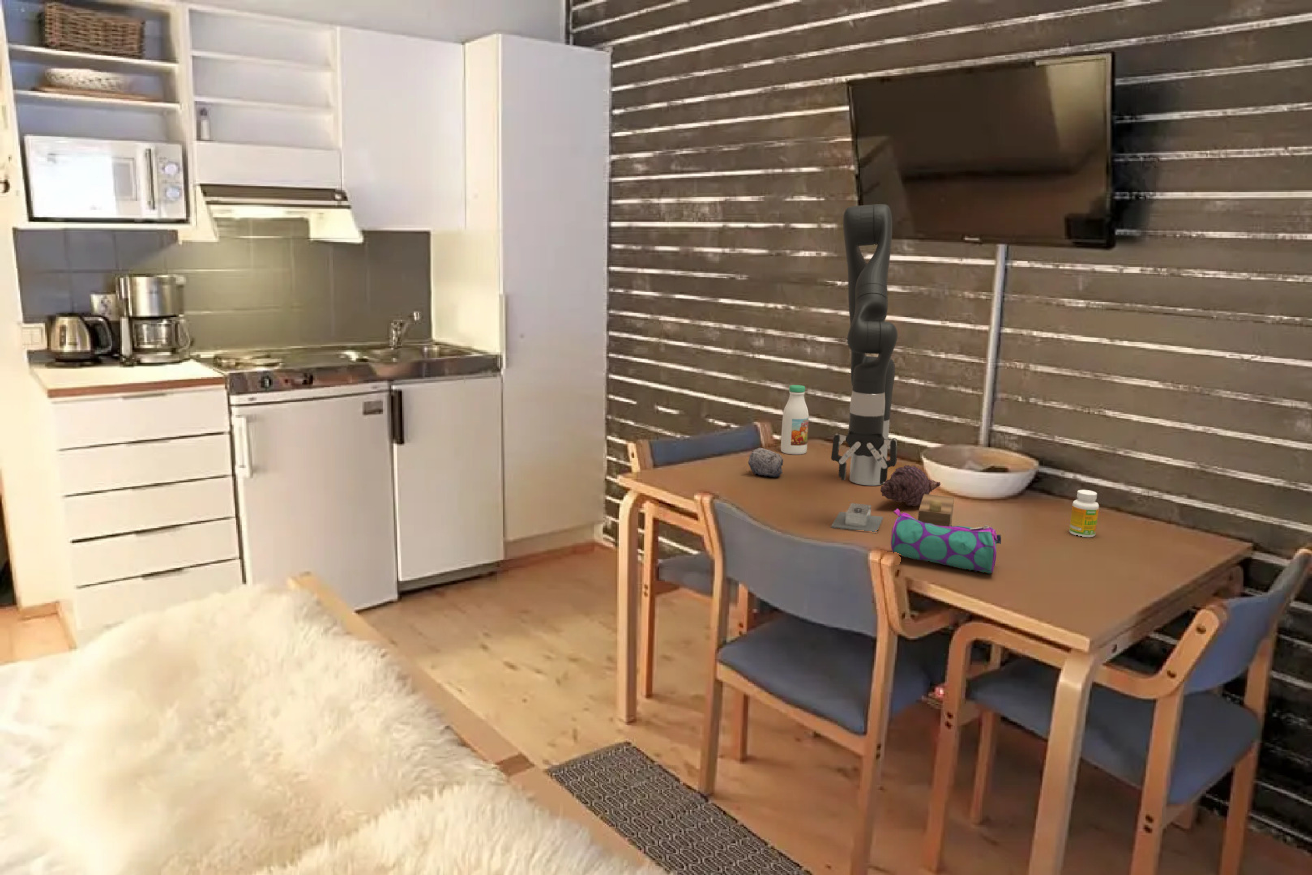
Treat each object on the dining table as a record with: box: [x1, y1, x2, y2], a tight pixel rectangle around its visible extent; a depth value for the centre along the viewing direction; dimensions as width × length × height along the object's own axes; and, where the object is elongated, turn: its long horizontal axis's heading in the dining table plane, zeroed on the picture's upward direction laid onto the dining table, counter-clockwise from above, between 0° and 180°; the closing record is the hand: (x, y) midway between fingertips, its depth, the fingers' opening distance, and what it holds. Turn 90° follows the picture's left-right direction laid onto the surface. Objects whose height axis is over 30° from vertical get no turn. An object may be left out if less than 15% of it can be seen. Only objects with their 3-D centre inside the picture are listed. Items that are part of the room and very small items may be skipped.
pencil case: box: [890, 508, 1002, 574], centre depth 191 cm, size 21×9×10 cm, turn 64°
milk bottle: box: [780, 384, 810, 455], centre depth 282 cm, size 8×8×20 cm
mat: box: [830, 511, 884, 533], centre depth 217 cm, size 12×10×1 cm
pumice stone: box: [747, 447, 784, 478], centre depth 256 cm, size 10×8×10 cm
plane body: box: [917, 493, 955, 526], centre depth 208 cm, size 14×7×10 cm, turn 160°
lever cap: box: [845, 502, 872, 528], centre depth 217 cm, size 8×4×3 cm, turn 160°
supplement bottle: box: [1068, 489, 1100, 538], centre depth 212 cm, size 5×5×10 cm
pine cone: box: [880, 464, 941, 507], centre depth 231 cm, size 18×10×10 cm, turn 118°
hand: (862, 481), depth 215 cm, fingers open, 8 cm apart
